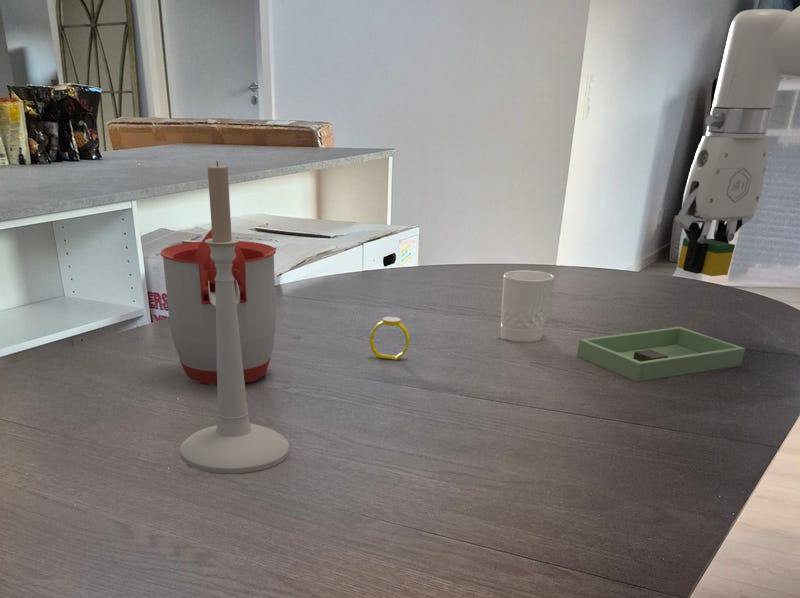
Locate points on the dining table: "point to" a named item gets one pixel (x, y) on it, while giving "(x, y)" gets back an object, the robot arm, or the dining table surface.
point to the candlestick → (229, 365)
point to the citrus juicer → (197, 306)
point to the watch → (390, 322)
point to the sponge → (712, 257)
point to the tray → (677, 343)
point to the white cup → (525, 304)
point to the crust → (648, 355)
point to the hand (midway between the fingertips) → (702, 269)
